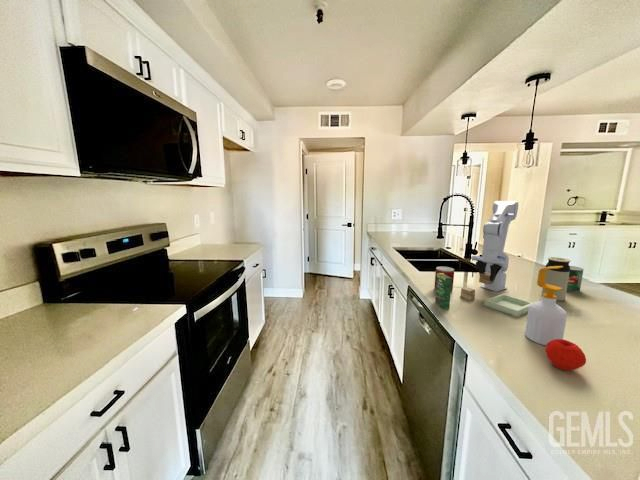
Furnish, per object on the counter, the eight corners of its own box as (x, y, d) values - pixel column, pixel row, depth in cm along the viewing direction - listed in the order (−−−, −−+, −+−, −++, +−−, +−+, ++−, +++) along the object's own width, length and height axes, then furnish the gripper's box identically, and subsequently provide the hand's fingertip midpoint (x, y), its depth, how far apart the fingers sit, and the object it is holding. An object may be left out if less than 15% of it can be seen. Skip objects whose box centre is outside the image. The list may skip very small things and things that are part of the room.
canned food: (455, 293, 123) (457, 270, 121) (438, 293, 123) (440, 270, 121) (447, 287, 131) (449, 266, 129) (431, 287, 131) (433, 266, 129)
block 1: (466, 295, 121) (466, 286, 120) (474, 297, 118) (475, 289, 117) (460, 296, 119) (461, 288, 118) (469, 299, 116) (470, 291, 115)
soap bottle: (553, 350, 78) (566, 271, 73) (519, 336, 86) (529, 263, 81) (567, 342, 82) (580, 267, 78) (533, 329, 90) (543, 260, 86)
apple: (592, 376, 67) (597, 350, 65) (563, 378, 66) (568, 351, 65) (561, 357, 74) (565, 333, 73) (535, 358, 74) (539, 334, 73)
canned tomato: (577, 288, 129) (581, 267, 127) (582, 293, 123) (586, 270, 121) (556, 285, 133) (559, 264, 131) (559, 290, 127) (563, 268, 125)
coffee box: (434, 301, 114) (436, 272, 112) (440, 301, 114) (443, 272, 112) (442, 309, 106) (445, 278, 104) (449, 309, 106) (452, 278, 104)
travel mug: (545, 299, 115) (551, 260, 112) (538, 293, 123) (544, 256, 120) (568, 302, 112) (575, 261, 109) (559, 295, 120) (566, 257, 117)
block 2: (484, 280, 120) (485, 272, 119) (493, 283, 117) (494, 274, 116) (479, 281, 118) (480, 273, 118) (488, 284, 115) (489, 275, 114)
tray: (502, 299, 116) (503, 293, 115) (534, 309, 105) (535, 303, 105) (484, 305, 109) (484, 299, 109) (516, 317, 99) (517, 310, 98)
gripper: (468, 247, 120) (466, 275, 122) (502, 253, 107) (499, 285, 109) (478, 246, 123) (475, 273, 125) (512, 251, 110) (508, 282, 112)
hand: (486, 278), depth 117 cm, fingers closed on block 2, 4 cm apart
